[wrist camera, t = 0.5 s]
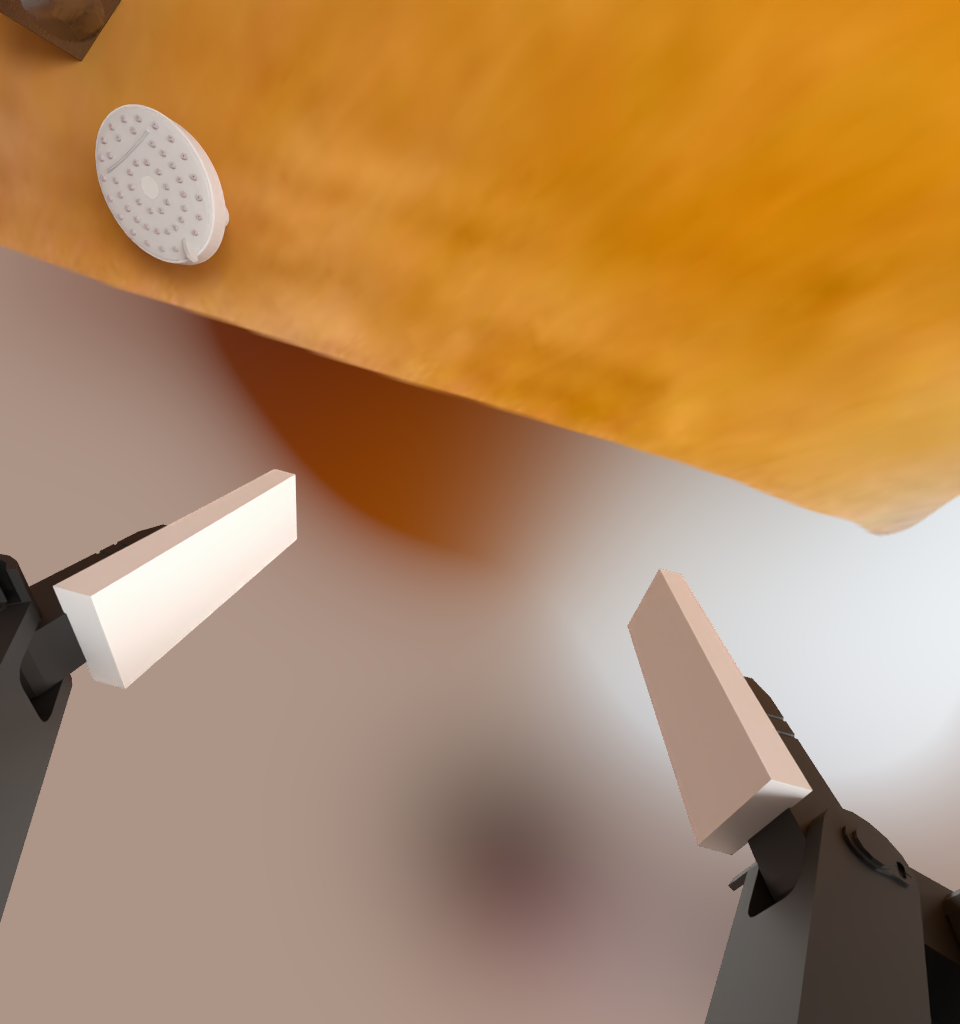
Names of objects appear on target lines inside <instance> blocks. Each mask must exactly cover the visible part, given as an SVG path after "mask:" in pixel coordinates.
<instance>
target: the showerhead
mask: <svg viewBox="0 0 960 1024" xmlns="http://www.w3.org/2000/svg"><path fill="white" fill-rule="evenodd" d="M95 158H96V170H97V175H98V180H99V183H100V187H101V190H102V193H103V195H104V198H105V200H106V202H107V205H108V207H109V209H110V211H111V212H112V214H113V216H114V218H115V219H116V221H117V222H118V224H119V225H120V227H121V228H122V229H123V231H124V232H125V233H126V234H127V235H128V237H129V238H130V239H131V240H132V241H133V242H134V243H135V244H136V245H138V246H139V247H140V248H141V249H142V250H144V251H145V252H147V253H148V254H150V255H151V256H153V257H155V258H157V259H159V260H162V261H165V262H170V263H176V264H183V265H196V264H200V263H202V262H204V261H206V260H208V259H209V258H210V257H211V256H213V254H214V253H215V252H216V251H217V249H218V248H219V246H220V244H221V241H222V238H223V235H224V231H225V227H226V226H227V225H228V223H229V213H228V210H227V208H226V206H225V201H224V195H223V191H222V187H221V184H220V181H219V178H218V176H217V173H216V171H215V169H214V167H213V165H212V163H211V161H210V159H209V158H208V156H207V154H206V153H205V151H204V150H203V148H202V147H201V146H200V144H199V143H198V142H197V141H196V140H195V139H194V138H193V136H192V135H191V134H190V133H188V132H187V131H186V130H185V129H184V128H183V127H181V126H180V125H179V124H177V123H176V122H174V121H172V120H171V119H169V118H168V117H166V116H165V115H163V114H161V113H160V112H158V111H156V110H154V109H152V108H150V107H147V106H143V105H137V104H130V105H124V106H121V107H119V108H116V109H115V110H113V111H112V112H111V113H109V115H108V116H107V117H106V118H105V120H104V121H103V122H102V125H101V127H100V129H99V132H98V136H97V139H96V150H95Z"/></svg>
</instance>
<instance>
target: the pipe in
mask: <svg viewBox="0 0 960 1024" xmlns="http://www.w3.org/2000/svg"><path fill="white" fill-rule="evenodd" d="M120 1H121V0H0V12H1V13H3V14H4V15H6V16H8V17H9V18H11V19H13V20H14V21H16V22H18V23H19V24H21V25H23V26H24V27H26V28H27V29H29V30H31V31H32V32H34V33H36V34H37V35H39V36H41V37H42V38H44V39H46V40H47V41H49V42H51V43H52V44H54V45H56V46H57V47H59V48H60V49H62V50H64V51H65V52H67V53H69V54H70V55H72V56H74V57H75V58H77V59H79V60H80V61H81V60H82V59H83V57H84V56H85V54H86V53H87V51H88V50H89V48H90V47H91V45H92V44H93V42H94V41H95V39H96V37H97V36H98V34H99V33H100V31H101V30H102V28H103V27H104V25H105V24H106V22H107V21H108V19H109V17H110V16H111V14H112V13H113V11H114V10H115V8H116V7H117V5H118V4H119V2H120Z"/></svg>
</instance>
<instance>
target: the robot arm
mask: <svg viewBox="0 0 960 1024" xmlns="http://www.w3.org/2000/svg"><path fill="white" fill-rule="evenodd" d="M296 539H297V524H296V483H295V474H292V473H288V472H284V471H280V470H276V469H274V470H272V471H270V472H268V473H266V474H264V475H262V476H260V477H258V478H257V479H255V480H253V481H251V482H249V483H247V484H245V485H243V486H241V487H239V488H238V489H236V490H234V491H232V492H230V493H228V494H226V495H225V496H223V497H221V498H219V499H217V500H215V501H213V502H211V503H209V504H207V505H205V506H204V507H202V508H200V509H198V510H196V511H194V512H192V513H190V514H188V515H186V516H185V517H183V518H181V519H179V520H177V521H175V522H173V523H171V524H169V525H160V526H156V527H153V528H150V529H146V530H142V531H139V532H137V533H135V534H133V535H131V536H129V537H127V538H125V539H123V540H121V541H119V542H118V543H117V544H116V545H114V544H113V545H111V546H109V547H107V548H105V549H103V550H101V551H100V553H99V554H96V553H95V554H93V555H91V556H89V557H87V558H86V559H83V560H81V561H79V562H77V563H75V564H73V565H71V566H69V567H67V568H65V569H64V570H61V571H59V572H57V573H55V574H54V575H52V576H49V577H48V578H46V579H44V580H42V581H40V582H38V583H36V584H34V585H32V586H30V587H29V586H28V584H27V582H26V579H25V578H24V575H23V573H22V571H21V569H20V567H19V565H18V562H17V561H16V560H15V559H13V558H12V557H11V556H8V555H2V554H0V921H1V918H2V914H3V911H4V908H5V904H6V901H7V898H8V895H9V892H10V888H11V885H12V882H13V878H14V875H15V872H16V869H17V865H18V862H19V859H20V855H21V852H22V849H23V846H24V842H25V839H26V836H27V832H28V829H29V826H30V823H31V819H32V816H33V813H34V809H35V806H36V803H37V799H38V796H39V793H40V790H41V786H42V783H43V780H44V777H45V773H46V770H47V767H48V763H49V760H50V757H51V753H52V750H53V747H54V744H55V740H56V737H57V734H58V731H59V727H60V724H61V721H62V718H63V714H64V711H65V708H66V704H67V701H68V698H69V695H70V691H71V688H72V678H71V675H70V673H72V672H73V671H74V670H76V669H77V668H78V667H80V666H81V665H82V664H84V663H86V665H87V667H88V670H89V672H90V674H91V676H92V679H93V680H95V681H98V682H102V683H106V684H109V685H113V686H116V687H120V688H124V689H126V688H127V687H128V686H129V685H130V684H131V683H132V682H134V681H135V680H136V679H137V678H138V677H140V676H141V675H142V674H143V673H144V672H145V671H146V670H148V669H149V668H150V667H151V666H152V665H153V664H154V663H155V662H157V661H158V660H159V659H160V658H161V657H162V656H164V655H165V654H166V653H167V652H168V651H169V650H170V649H172V648H173V647H174V646H175V645H176V644H177V643H178V642H180V641H181V640H182V639H183V638H184V637H185V636H186V635H187V634H189V633H190V632H191V631H192V630H193V629H194V628H196V627H197V626H198V625H199V624H200V623H201V622H202V621H204V620H205V619H206V618H207V617H208V616H209V615H210V614H212V613H213V612H214V611H215V610H216V609H217V608H219V607H220V606H221V605H222V604H223V603H224V602H225V601H226V600H227V599H229V598H230V597H231V596H232V595H233V594H235V593H236V592H237V591H238V590H239V589H240V588H241V587H243V586H244V585H245V584H246V583H247V582H248V581H249V580H251V579H252V578H253V577H254V576H255V575H256V574H257V573H259V572H260V571H261V570H262V569H263V568H264V567H265V566H267V565H268V564H269V563H270V562H271V561H272V560H273V559H274V558H276V557H277V556H278V555H279V554H280V553H281V552H283V551H284V550H285V549H286V548H287V547H288V546H290V545H291V544H292V543H293V542H294V541H295V540H296ZM628 629H629V632H630V635H631V638H632V642H633V645H634V647H635V651H636V654H637V657H638V660H639V664H640V666H641V670H642V673H643V676H644V679H645V682H646V685H647V689H648V692H649V695H650V698H651V701H652V704H653V707H654V711H655V714H656V717H657V720H658V723H659V726H660V730H661V732H662V736H663V739H664V742H665V745H666V748H667V751H668V755H669V758H670V761H671V764H672V767H673V770H674V773H675V777H676V780H677V783H678V786H679V789H680V792H681V795H682V798H683V802H684V805H685V808H686V811H687V814H688V817H689V820H690V824H691V827H692V830H693V833H694V836H695V839H696V842H697V845H698V846H701V847H704V848H708V849H712V850H715V851H719V852H723V853H726V854H730V855H733V854H734V853H735V852H736V851H738V850H739V849H740V848H742V847H743V846H744V845H745V844H747V843H749V845H750V848H751V850H752V853H753V855H754V857H755V859H756V862H755V863H754V864H752V865H751V866H750V867H748V868H747V869H746V870H744V871H743V872H742V873H740V874H739V875H738V876H736V877H735V878H734V879H733V880H732V881H731V882H730V884H729V885H728V886H729V887H730V888H731V889H732V890H733V891H735V890H736V889H737V888H739V887H740V886H742V885H744V886H743V890H742V893H741V897H740V900H739V904H738V907H737V911H736V914H735V918H734V921H733V925H732V928H731V932H730V936H729V939H728V943H727V946H726V950H725V953H724V957H723V960H722V964H721V968H720V971H719V975H718V978H717V982H716V985H715V989H714V993H713V996H712V999H711V1003H710V1007H709V1010H708V1014H707V1017H706V1021H705V1024H960V890H958V891H955V892H953V891H951V890H949V889H947V888H946V887H944V886H942V885H940V884H938V883H937V882H935V881H933V880H931V879H930V878H928V877H926V876H924V875H922V874H921V873H919V872H917V871H915V870H914V869H912V868H910V867H909V866H908V864H907V863H906V861H905V860H904V858H903V857H902V855H901V854H900V853H899V852H898V851H897V850H896V848H895V847H894V846H893V845H892V844H891V843H890V842H889V840H888V839H887V838H886V837H885V836H883V835H882V834H881V833H880V832H879V831H878V830H877V829H875V828H874V827H873V826H872V825H871V824H870V823H868V822H867V821H865V820H864V819H862V818H861V817H859V816H858V815H856V814H854V813H853V812H850V811H848V810H845V809H843V808H842V807H841V806H840V804H839V802H838V801H837V799H836V798H835V797H834V795H833V793H832V792H831V790H830V789H829V787H828V785H827V784H826V782H825V781H824V779H823V778H822V776H821V775H820V773H819V772H818V770H817V769H816V767H815V765H814V764H813V762H812V761H811V759H810V758H809V756H808V755H807V753H806V752H805V750H804V749H803V747H802V746H801V744H800V742H799V741H798V739H795V738H794V733H793V731H792V730H791V729H790V727H789V726H788V724H787V722H785V721H783V716H782V714H781V713H780V711H779V710H778V709H777V707H776V705H775V704H774V702H773V701H772V699H771V697H769V695H768V694H767V693H766V692H765V691H764V690H763V689H762V688H761V687H760V686H759V685H758V684H757V683H756V682H755V681H754V680H753V679H752V678H748V677H744V676H743V675H742V673H741V672H740V670H739V668H738V667H737V665H736V664H735V662H734V660H733V659H732V657H731V655H730V654H729V652H728V650H727V649H726V647H725V646H724V644H723V642H722V640H721V639H720V637H719V636H718V634H717V632H716V631H715V629H714V627H713V626H712V624H711V622H710V621H709V619H708V618H707V616H706V614H705V613H704V611H703V609H702V608H701V606H700V604H699V603H698V601H697V599H696V598H695V596H694V594H693V593H692V591H691V589H690V588H689V586H688V585H687V583H686V582H685V580H684V578H683V576H682V575H681V574H678V573H675V572H670V571H667V570H663V569H659V570H658V572H657V574H656V576H655V578H654V579H653V581H652V583H651V585H650V587H649V588H648V590H647V592H646V594H645V596H644V597H643V599H642V601H641V603H640V604H639V607H638V608H637V610H636V612H635V614H634V615H633V617H632V619H631V621H630V623H629V624H628Z"/></svg>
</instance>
